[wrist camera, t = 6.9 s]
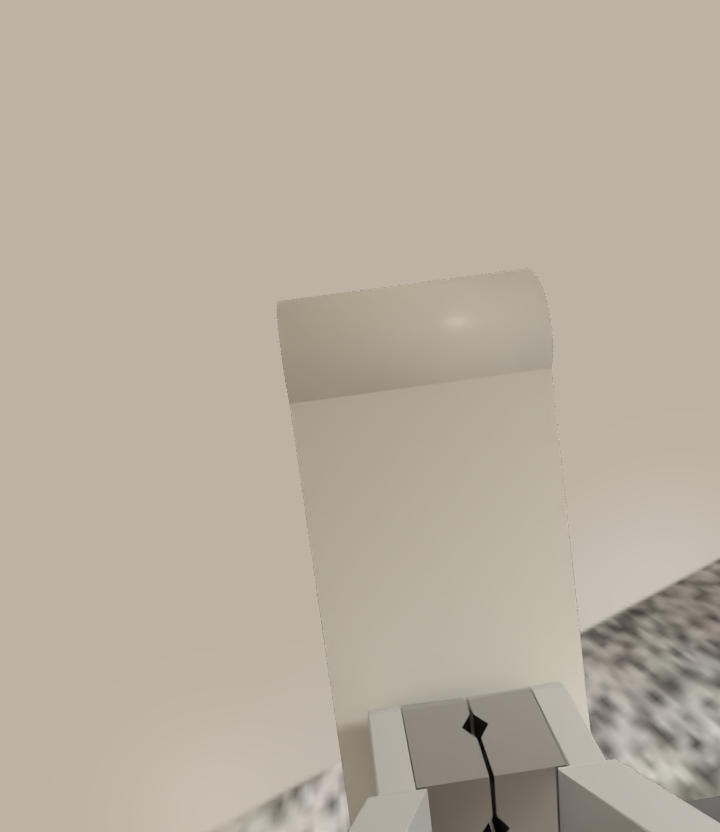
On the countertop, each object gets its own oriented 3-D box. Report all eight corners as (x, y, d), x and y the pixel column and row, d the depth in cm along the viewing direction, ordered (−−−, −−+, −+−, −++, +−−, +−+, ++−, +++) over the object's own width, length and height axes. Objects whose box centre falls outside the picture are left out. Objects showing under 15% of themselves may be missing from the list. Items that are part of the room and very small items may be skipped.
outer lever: (588, 993, 13) (508, 276, 12) (634, 1109, 11) (544, 259, 10) (387, 1026, 13) (283, 306, 12) (397, 1148, 11) (272, 295, 10)
